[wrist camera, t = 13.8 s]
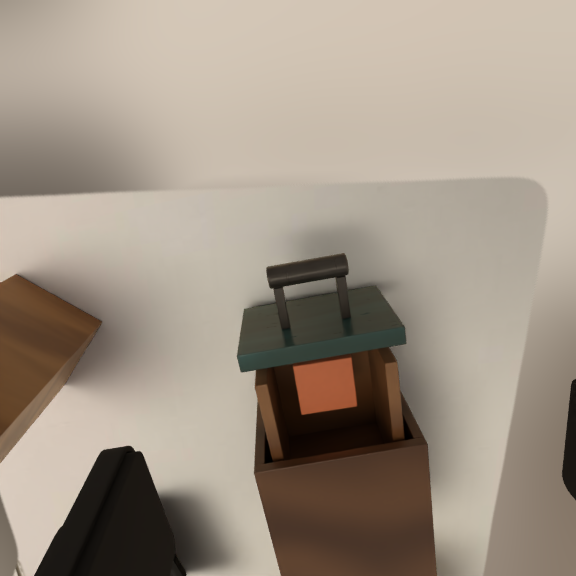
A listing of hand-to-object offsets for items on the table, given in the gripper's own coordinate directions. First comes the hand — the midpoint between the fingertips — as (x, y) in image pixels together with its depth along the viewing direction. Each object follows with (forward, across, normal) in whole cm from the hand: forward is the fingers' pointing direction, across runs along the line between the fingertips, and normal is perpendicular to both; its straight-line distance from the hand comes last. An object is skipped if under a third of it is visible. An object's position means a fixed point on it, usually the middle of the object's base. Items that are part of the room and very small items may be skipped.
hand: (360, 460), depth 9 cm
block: (+21, 0, +10) cm, 23 cm away
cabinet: (+23, 0, +20) cm, 30 cm away
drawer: (+22, 0, +9) cm, 24 cm away
